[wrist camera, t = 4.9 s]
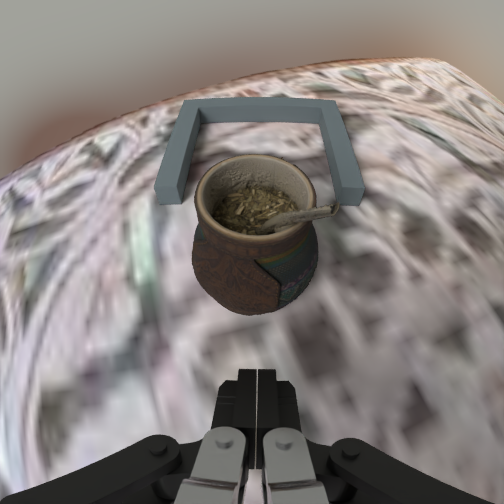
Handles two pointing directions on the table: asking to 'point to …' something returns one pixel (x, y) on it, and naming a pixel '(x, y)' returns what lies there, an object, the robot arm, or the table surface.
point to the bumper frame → (259, 110)
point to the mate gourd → (256, 233)
